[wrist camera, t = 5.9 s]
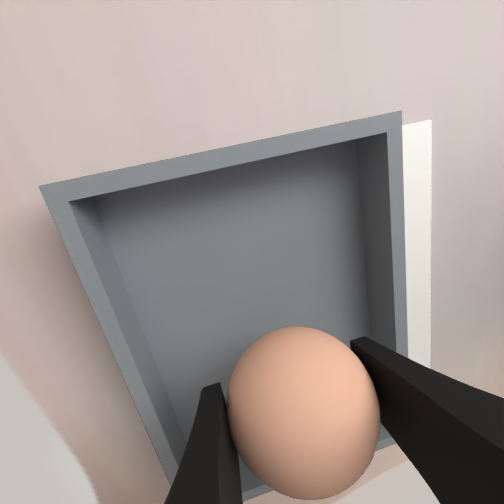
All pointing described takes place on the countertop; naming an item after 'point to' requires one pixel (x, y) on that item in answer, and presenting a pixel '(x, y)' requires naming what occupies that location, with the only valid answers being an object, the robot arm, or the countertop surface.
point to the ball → (303, 413)
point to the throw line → (418, 237)
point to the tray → (238, 260)
